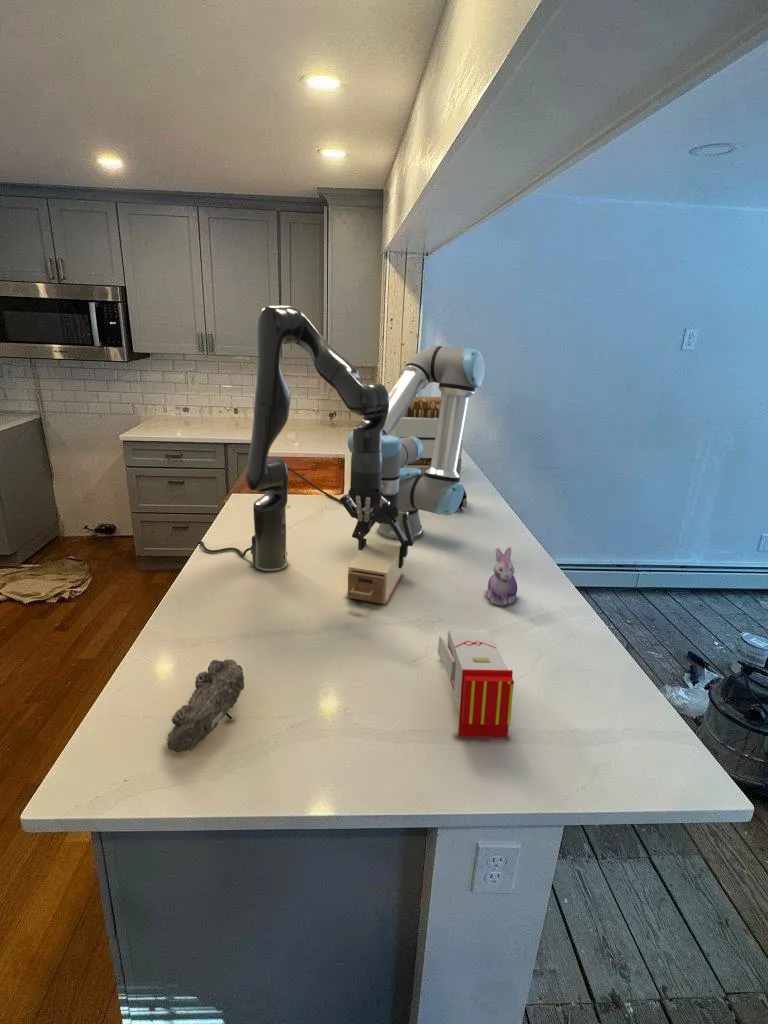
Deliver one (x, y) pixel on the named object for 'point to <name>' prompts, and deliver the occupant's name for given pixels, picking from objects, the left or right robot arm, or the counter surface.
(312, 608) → the counter surface
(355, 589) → the drawer
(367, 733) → the counter surface
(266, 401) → the left robot arm
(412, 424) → the grey slatted crate
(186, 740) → the fossil
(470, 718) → the toy
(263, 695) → the counter surface
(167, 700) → the counter surface
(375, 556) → the cabinet
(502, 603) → the figurine
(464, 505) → the figurine character
